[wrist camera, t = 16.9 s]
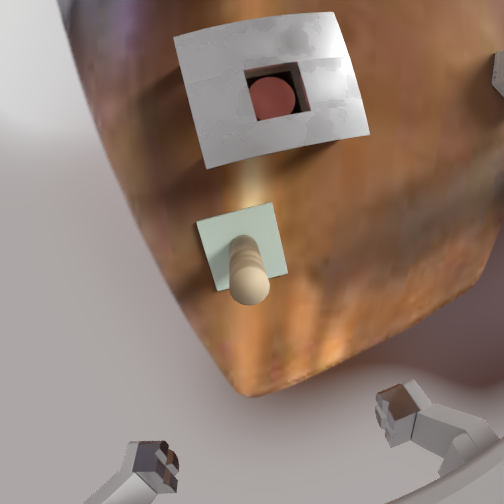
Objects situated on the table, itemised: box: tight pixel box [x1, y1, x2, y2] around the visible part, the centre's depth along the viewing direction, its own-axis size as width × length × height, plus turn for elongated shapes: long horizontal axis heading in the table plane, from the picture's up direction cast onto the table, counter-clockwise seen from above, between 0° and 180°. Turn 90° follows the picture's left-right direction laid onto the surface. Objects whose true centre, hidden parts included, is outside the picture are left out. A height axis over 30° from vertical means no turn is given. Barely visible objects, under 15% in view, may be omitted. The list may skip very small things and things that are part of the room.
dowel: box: [229, 235, 270, 305], centre depth 27 cm, size 3×3×10 cm
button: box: [249, 77, 295, 121], centre depth 26 cm, size 4×4×3 cm
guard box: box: [173, 12, 370, 169], centre depth 24 cm, size 14×12×7 cm
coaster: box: [196, 202, 288, 291], centre depth 32 cm, size 8×8×1 cm
